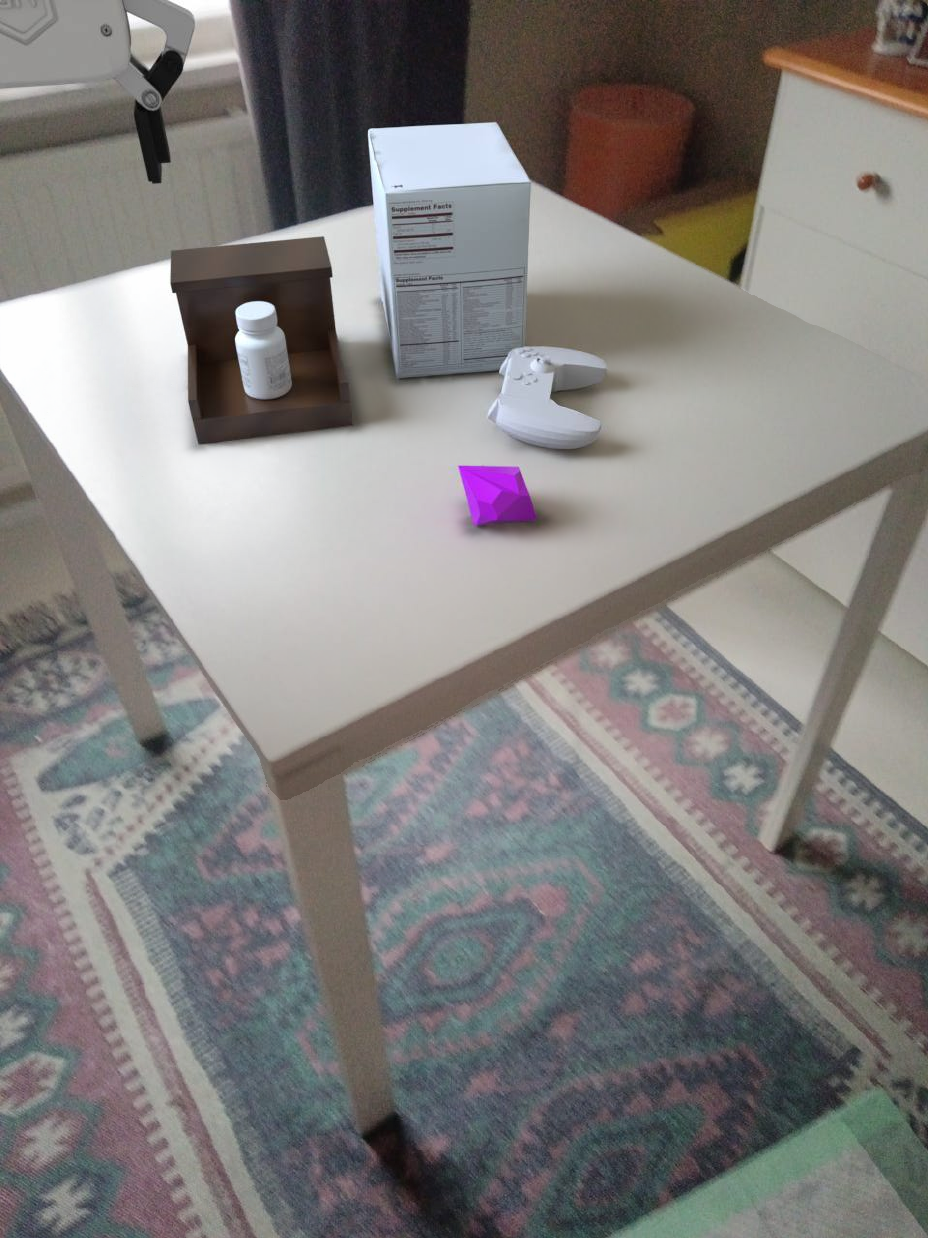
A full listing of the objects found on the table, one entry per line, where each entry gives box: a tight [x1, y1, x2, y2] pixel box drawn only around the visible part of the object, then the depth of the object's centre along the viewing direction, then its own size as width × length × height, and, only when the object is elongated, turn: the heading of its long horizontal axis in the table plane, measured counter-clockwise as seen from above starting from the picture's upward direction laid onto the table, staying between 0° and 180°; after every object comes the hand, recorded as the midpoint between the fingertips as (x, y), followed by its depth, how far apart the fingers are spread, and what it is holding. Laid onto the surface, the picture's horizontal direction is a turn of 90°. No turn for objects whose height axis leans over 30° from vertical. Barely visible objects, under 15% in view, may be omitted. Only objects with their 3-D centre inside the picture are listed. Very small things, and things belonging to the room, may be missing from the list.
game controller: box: [486, 345, 608, 450], centre depth 90 cm, size 14×4×10 cm
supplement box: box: [367, 121, 532, 379], centre depth 96 cm, size 17×13×18 cm
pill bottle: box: [235, 301, 292, 400], centre depth 87 cm, size 4×4×8 cm
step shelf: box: [169, 235, 354, 445], centre depth 91 cm, size 14×16×11 cm
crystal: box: [457, 465, 539, 527], centre depth 79 cm, size 5×5×5 cm
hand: (73, 182), depth 59 cm, fingers open, 9 cm apart
